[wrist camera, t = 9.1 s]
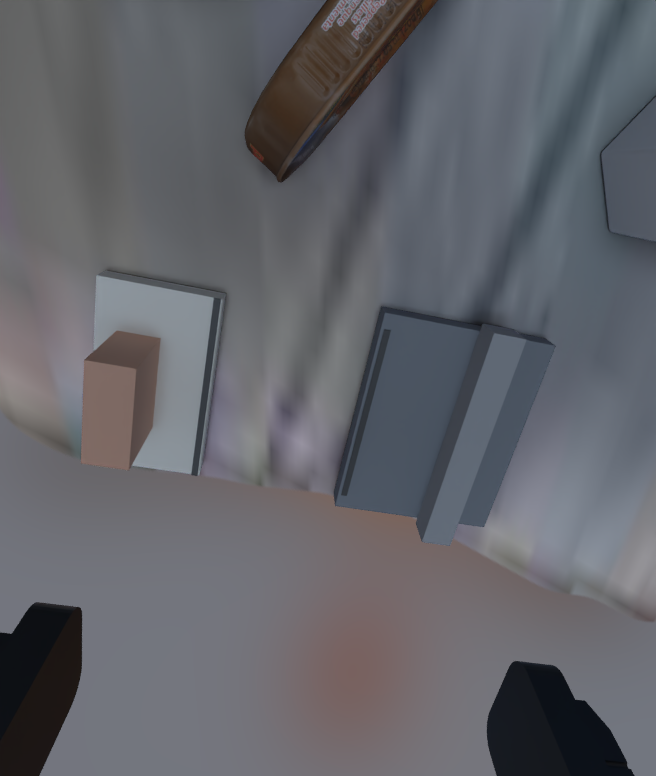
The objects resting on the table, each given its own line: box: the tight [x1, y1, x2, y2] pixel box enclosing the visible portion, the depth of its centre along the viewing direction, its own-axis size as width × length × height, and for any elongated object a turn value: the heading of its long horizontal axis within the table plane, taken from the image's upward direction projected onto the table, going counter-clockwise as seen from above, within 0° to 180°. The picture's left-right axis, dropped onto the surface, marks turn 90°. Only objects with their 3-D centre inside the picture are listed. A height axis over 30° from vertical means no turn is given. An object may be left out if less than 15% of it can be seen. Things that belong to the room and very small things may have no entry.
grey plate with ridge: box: [334, 306, 556, 546], centre depth 34 cm, size 11×15×4 cm
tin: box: [245, 0, 438, 182], centre depth 23 cm, size 15×3×8 cm, turn 138°
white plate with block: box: [81, 270, 226, 476], centre depth 30 cm, size 7×12×6 cm, turn 168°
